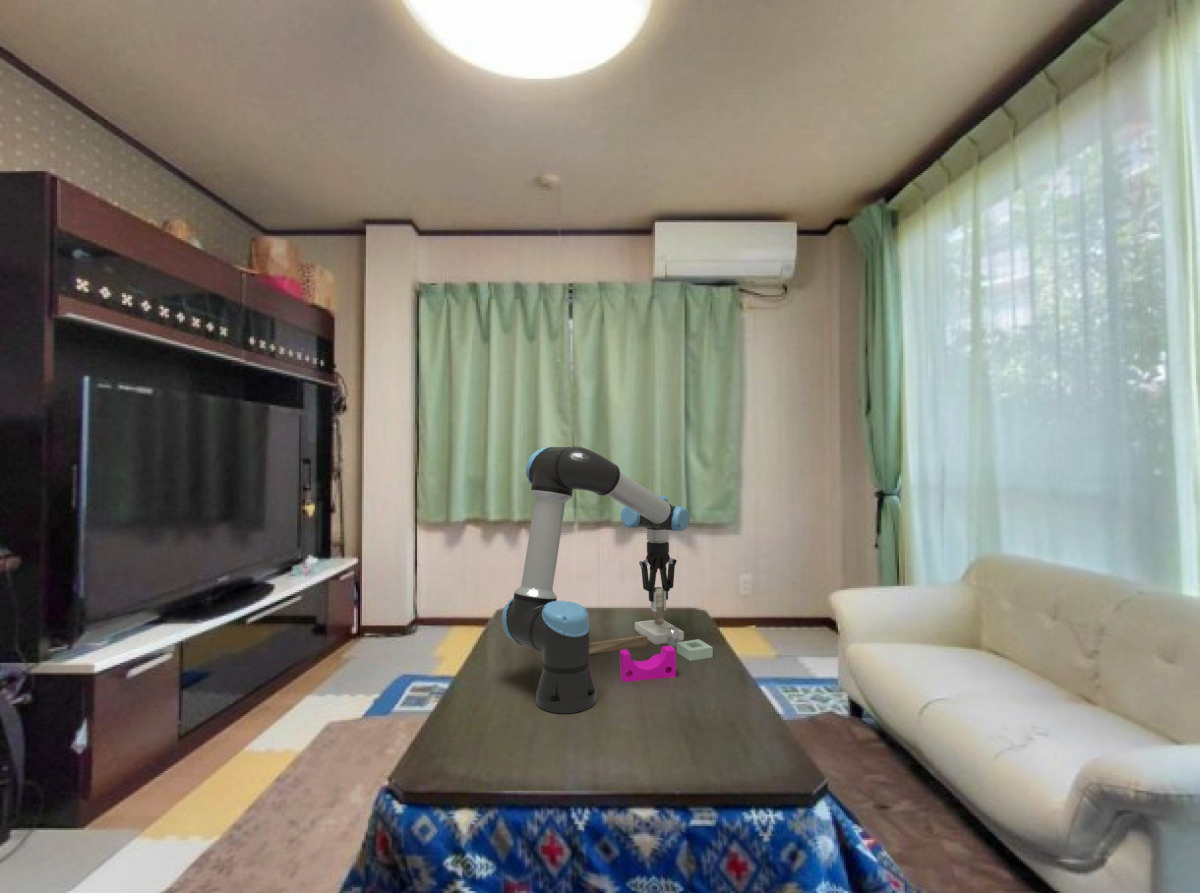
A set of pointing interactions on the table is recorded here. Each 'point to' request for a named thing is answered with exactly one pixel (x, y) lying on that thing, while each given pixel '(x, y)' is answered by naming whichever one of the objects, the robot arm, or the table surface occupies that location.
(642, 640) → the brown wooden bar
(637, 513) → the robot arm
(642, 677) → the toy block
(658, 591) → the dowel
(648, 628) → the tray
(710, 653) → the socket
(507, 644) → the table surface
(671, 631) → the cylinder
